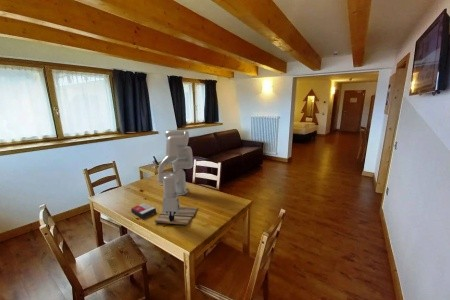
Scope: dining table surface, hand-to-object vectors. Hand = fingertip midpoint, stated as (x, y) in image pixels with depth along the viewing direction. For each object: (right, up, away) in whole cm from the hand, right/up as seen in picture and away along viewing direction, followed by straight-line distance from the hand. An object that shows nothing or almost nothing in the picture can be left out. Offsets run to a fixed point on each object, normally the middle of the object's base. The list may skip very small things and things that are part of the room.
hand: (171, 220), depth 139 cm
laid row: (+2, +1, +14) cm, 14 cm away
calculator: (-24, 0, +15) cm, 28 cm away
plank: (0, -1, +3) cm, 3 cm away
